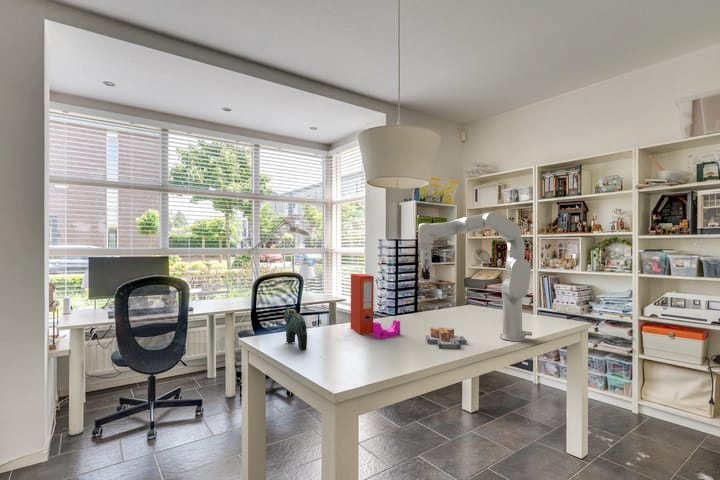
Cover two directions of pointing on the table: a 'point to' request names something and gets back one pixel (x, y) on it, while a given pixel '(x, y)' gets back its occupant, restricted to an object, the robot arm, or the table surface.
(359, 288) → the file binder
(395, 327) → the toy block
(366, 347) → the table surface
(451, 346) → the T outline
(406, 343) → the table surface
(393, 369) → the table surface
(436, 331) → the T block
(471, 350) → the table surface
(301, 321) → the dark green animal figurine
